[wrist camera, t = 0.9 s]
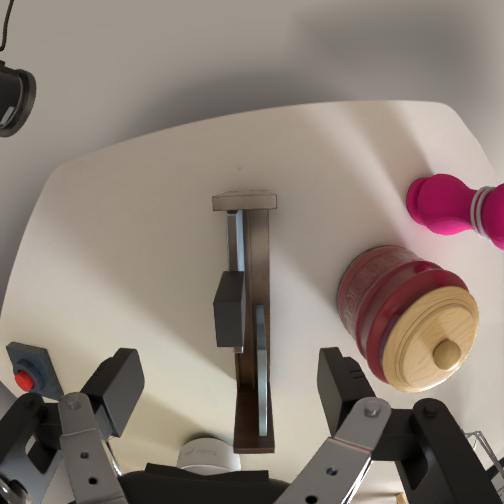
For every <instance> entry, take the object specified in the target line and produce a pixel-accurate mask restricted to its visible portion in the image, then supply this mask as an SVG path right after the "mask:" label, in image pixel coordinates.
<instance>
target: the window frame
mask: <svg viewBox="0 0 504 504" xmlns="http://www.w3.org/2000/svg"><path fill="white" fill-rule="evenodd" d="M212 200H213V211H223V210H227V213H228V212H229V211H230V210H242V211H243V240H244V268H245V294H246V313H245V331H244V346H243V353H235V366H236V379H237V399H236V413H235V427H234V441H233V453H234V454H263V453H275V441H274V428H273V415H272V402H271V389H270V284H269V223H268V209H277V199H276V194H274V193H271V192H269V191H267V190H259V191H229V192H226V193H222V194H219V195H216V196H213V197H212Z"/></svg>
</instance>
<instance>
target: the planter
mask: <svg viewBox="0 0 504 504" xmlns="http://www.w3.org/2000/svg"><path fill="white" fill-rule="evenodd" d="M396 498H397V504H408V502H407V500H406V497H405V495H404V493H400V494H398V495H397V496H396Z"/></svg>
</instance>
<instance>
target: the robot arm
mask: <svg viewBox="0 0 504 504" xmlns="http://www.w3.org/2000/svg"><path fill="white" fill-rule="evenodd" d="M13 2H14V0H10V4H9V7H8V10H7V14H6V17H5V22H4V28H3V40H2V46H1V47H0V51H3V50H4V48H5V45H6V40H7V27H8V20H9V16H10V12H11V9H12V6H13ZM4 65H5V62H4V61H1V60H0V129H3V128H5V127H7V126H8V125H9V124H10V123H11V122H12V121H13V119H14V118H15V116H16V115H17V113H18V111H19V109H20V106H21V104H22V100H23V96H24V82H23V80H22V78H21V72H19V71H16V70H13V69H11V68H8V67H5V66H4ZM144 383H145V380H144V374H143V371H142V367H141V363H140V359H139V355H138V352H137V350H136V349H130V348H119V349H118V351H117V352H116V353H115V355H114V356H113V357H109V358H108V359H106V360H105V361H103V362H102V363H101V364H100V365H99V367H98V368H97V371H95V372H94V373H93V376H91V377H90V379H89V380H88V381H87V383H86V384H85V385H84V387H83V388H82V389H81V391H80V392H73V393H69V394H66V395H65V396H63V397H62V398H61V399H60V400H59V402H58V403H45V402H44V400H43V398H42V396H41V395H40V394H38V393H35V392H29V393H26V394H23V395H21V396H20V397H19V398H18V399H17V400H16V401H15V403H14V404H13V405H12V406H11V408H10V409H9V410H8V412H7V413H6V414H5V415H4V417H3V418H2V419H1V420H0V504H41V501H42V499H43V497H44V495H45V493H46V490H47V488H48V486H49V484H50V482H51V480H52V477H53V476H54V473H55V471H56V470H57V467H58V466H59V464H60V461H61V460H62V458H64V461H65V466H66V470H67V473H68V477H69V481H70V484H71V488H72V491H73V494H74V497H75V500H74V501H73V502H70V503H68V504H349V503H350V501H351V499H352V498H353V496H354V494H355V492H356V491H357V489H358V487H359V485H360V484H361V482H362V480H363V478H364V477H365V475H366V473H367V471H368V469H369V467H370V465H371V463H372V462H373V460H374V461H395V464H396V467H397V470H398V473H399V476H400V479H401V482H402V484H403V487H404V490H405V493H406V496H407V500H408V503H409V504H503V503H502V501H501V499H500V497H499V495H498V493H497V491H496V489H495V488H494V486H493V484H492V482H491V480H490V478H489V476H488V474H487V473H486V471H485V469H484V467H483V466H482V464H481V462H480V460H479V459H478V457H477V455H476V454H475V452H474V450H473V448H472V447H471V445H470V443H469V442H468V440H467V439H466V437H465V435H464V434H463V432H462V430H461V429H460V427H459V426H458V424H457V422H456V421H455V419H454V418H453V416H452V415H451V413H450V412H449V410H448V408H447V407H446V406H445V404H444V403H443V402H441V401H439V400H437V399H433V398H425V399H421V400H419V401H417V402H416V403H415V404H414V406H413V409H393V408H391V406H390V405H389V403H388V402H387V401H385V400H383V399H381V398H377V397H376V395H375V393H374V391H373V390H372V388H371V386H370V384H369V382H368V380H367V378H366V377H365V375H364V373H363V371H362V369H361V367H360V365H359V364H358V362H356V361H355V360H354V359H352V358H351V357H343V356H342V354H341V352H340V350H339V348H338V347H330V348H321V349H320V352H319V363H318V373H317V387H318V392H319V395H320V399H321V402H322V405H323V409H324V412H325V416H326V419H327V423H328V426H329V430H330V433H331V437H328V438H327V439H326V440H325V442H324V443H323V444H322V446H321V447H320V448H319V450H318V451H317V452H316V454H315V455H314V456H313V458H312V459H311V460H310V461H309V463H308V464H307V465H306V466H305V468H304V469H303V470H302V471H301V473H300V474H299V475H298V476H297V477H296V479H295V480H294V481H293V482H292V483H291V484H290V483H287V482H284V481H281V480H277V479H272V478H269V474H268V470H261V471H233V472H227V473H220V474H213V475H200V474H197V473H193V472H190V471H187V470H183V469H180V468H177V467H173V466H165V465H158V464H151V463H147V465H146V468H145V470H142V471H135V472H130V473H127V474H123V472H122V470H121V468H120V466H119V464H118V462H117V459H116V457H115V455H114V453H113V450H112V448H111V445H110V443H109V441H108V439H109V437H110V436H114V437H119V438H120V437H121V435H122V433H123V431H124V428H125V426H126V424H127V422H128V420H129V418H130V416H131V414H132V412H133V410H134V407H135V405H136V403H137V401H138V399H139V397H140V395H141V393H142V391H143V389H144ZM32 435H33V436H34V438H35V439H36V441H35V443H34V445H33V446H32V448H31V450H30V451H29V453H28V454H26V452H25V446H26V444H27V442H28V440H29V439H30V437H31V436H32Z"/></svg>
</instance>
